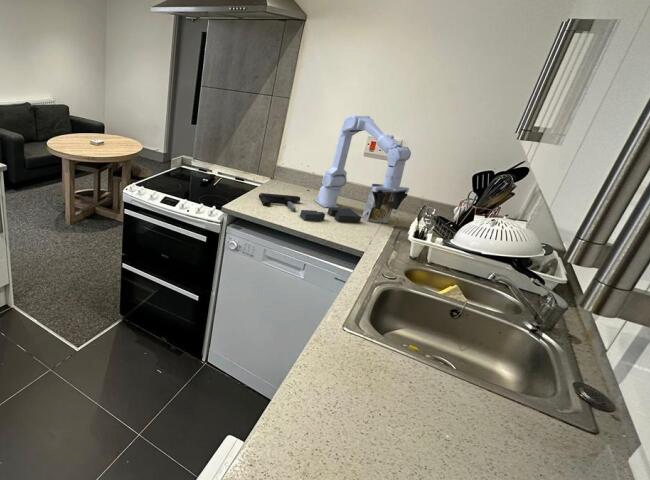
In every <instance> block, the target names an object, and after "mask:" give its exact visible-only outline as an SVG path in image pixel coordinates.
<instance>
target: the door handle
mask: <svg viewBox="0 0 650 480" xmlns="http://www.w3.org/2000/svg"><path fill="white" fill-rule="evenodd" d="M258 198H259V199H260V201H261V203H262V204H263V206H265V207H269V206H271V205H272V204H275V205H276V204H277V205H284V206H287V207H288V209H289V210H290V211H291V212H296V210H297V208H296V207H295V205H294V203H300V202H301V196H299V195H289V194H277V193H267V192H266V193H265V192H260V193H259V194H258Z"/></svg>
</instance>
